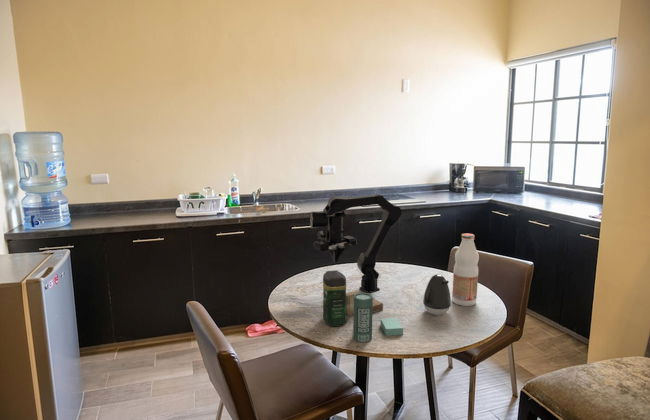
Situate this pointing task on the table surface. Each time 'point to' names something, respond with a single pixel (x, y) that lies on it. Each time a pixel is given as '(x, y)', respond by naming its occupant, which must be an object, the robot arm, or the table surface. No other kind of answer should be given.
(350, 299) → the tan wooden block
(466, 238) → the fruit juice
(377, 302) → the brown wooden block
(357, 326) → the can
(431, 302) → the dark rounded piece
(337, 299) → the coffee jar
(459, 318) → the table surface
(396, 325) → the mint green block
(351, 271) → the table surface
